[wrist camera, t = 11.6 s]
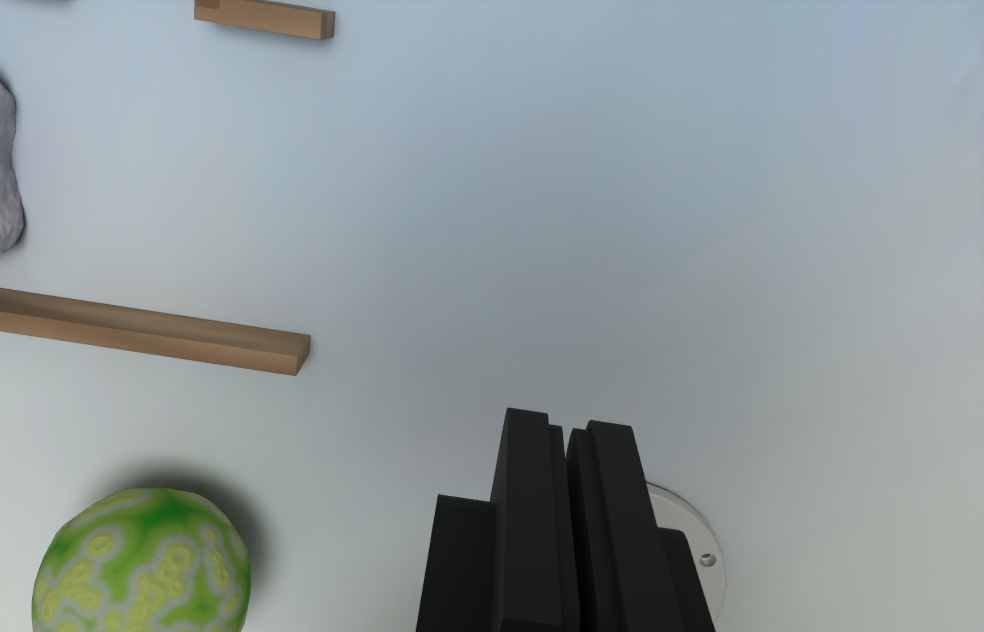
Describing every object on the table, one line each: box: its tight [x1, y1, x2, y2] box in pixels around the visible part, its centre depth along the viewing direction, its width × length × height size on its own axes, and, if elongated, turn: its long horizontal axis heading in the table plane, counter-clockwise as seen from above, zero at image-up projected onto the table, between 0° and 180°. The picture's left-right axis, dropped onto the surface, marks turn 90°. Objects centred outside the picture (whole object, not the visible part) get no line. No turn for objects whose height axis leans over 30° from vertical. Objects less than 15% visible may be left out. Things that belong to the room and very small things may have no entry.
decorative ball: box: [32, 487, 251, 632], centre depth 40 cm, size 10×10×10 cm
